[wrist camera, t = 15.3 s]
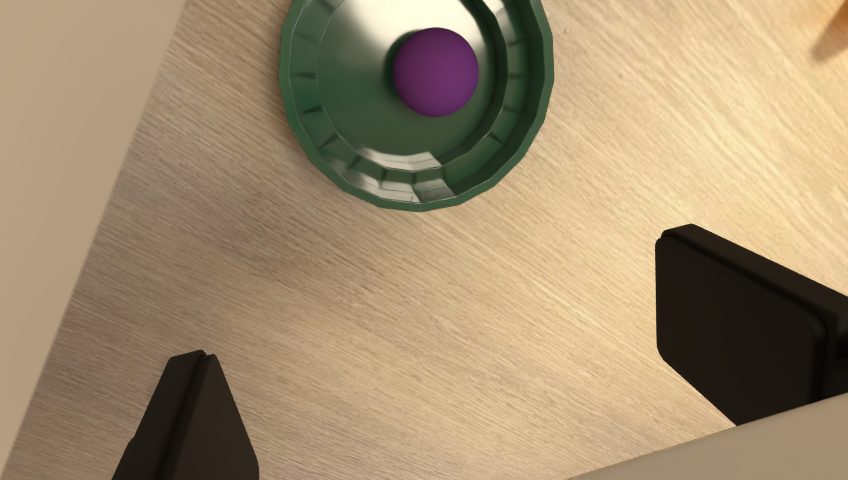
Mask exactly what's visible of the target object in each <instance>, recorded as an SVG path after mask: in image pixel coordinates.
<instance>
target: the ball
mask: <svg viewBox="0 0 848 480" xmlns="http://www.w3.org/2000/svg"><path fill="white" fill-rule="evenodd" d="M478 76H479V68H478V61H477V58H476V55H475V53H474V50H473V49H472V47H471V46H470V44H469V43H468V42H467V41H466V40H465V39H464V38H463V37H462V36H461V35H459V34H458V33H456V32H454V31H452V30H449V29H446V28H440V27H431V28H426V29H423V30H420V31H418V32H416V33H414V34H413V35H411V36H410V37H409V38H408V39H407V40H406V41H405V42H404V43H403V44H402V46H401V47H400V49H399V50H398V52H397V54H396V57H395V61H394V66H393V80H394V84H395V88H396V90H397V93H398V95H399V97H400V98H401V99H402V101H403V102H404V103H405V104H406V105H407V106H408V107H409V108H410V109H412V110H413V111H415V112H416V113H419V114H421V115H424V116H428V117H443V116H447V115H450V114H452V113H454V112H456V111H458V110H459V109H461V108H462V107H463V106H464V105H465V104H466V103H467V102H468V101H469V100H470V98H471V97H472V95H473V93H474V91H475V89H476V86H477V82H478Z"/></svg>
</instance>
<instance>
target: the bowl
mask: <svg viewBox="0 0 848 480" xmlns="http://www.w3.org/2000/svg"><path fill="white" fill-rule="evenodd" d="M431 27H440V28H446V29H449V30H452V31H454V32H456V33H458V34H459V35H461V36H462V37H463V38H464V39H465V40H466V41H467V42H468V43H469V44H470V46H471V47H472V49H473V50H474V53H475V55H476V58H477V61H478V68H479V76H478V82H477V86H476V89H475V91H474V93H473V95H472V97H471V98H470V100H469V101H468V102H467V103H466V104H465V105H464V106H463V107H462V108H461V109H459V110H458V111H456V112H454V113H452V114H450V115H447V116H443V117H428V116H424V115H421V114H419V113H416V112H415V111H413V110H412V109H410V108H409V107H408V106H407V105H406V104H405V103H404V102H403V101H402V99H401V98H400V97H399V95H398V93H397V90H396V88H395V84H394V80H393V66H394V61H395V57H396V54H397V52H398V50H399V49H400V47H401V46H402V44H403V43H404V42H405V41H406V40H407V39H408V38H409V37H410V36H411V35H413V34H414V33H416V32H418V31H420V30H423V29H426V28H431ZM278 82H279V86H280V91H281V95H282V99H283V104H284V108H285V112H286V117H287V121H288V124H289V126H290V128H291V129H292V131H293V133H294V134H295V136H296V138H297V139H298V141H299V143H300V145H301V146H302V148H303V150H304V151H305V153H306V155H307V156H308V158H309V160H310V161H311V162H312V164H314V165H315V166H316V167H317V168H318V169H319V170H320V171H321V172H322V173H324V174H325V175H326V176H327V177H328V178H329V179H330V180H331V181H332V182H334V183H335V184H336V185H337V186H338V187H339V188H340V189H341V190H343V191H344V192H346V193H349V194H351V195H353V196H355V197H357V198H360V199H362V200H364V201H366V202H369V203H371V204H373V205H375V206H377V207H381V208H386V209H395V210H404V211H412V212H425V211H430V210H436V209H441V208H446V207H451V206H457V205H460V204H462V203H464V202H466V201H468V200H470V199H472V198H473V197H475V196H477V195H479V194H481V193H483V192H485V191H487V190H489V189H491V188H492V187H494V186H495V185H496V184H497V183H498V182H499V181H500V180H501V179H502V178H504V177H505V176H506V175H507V174H508V173H509V172H510V171H511V170H512V169H513V168H514V167H515V166H516V165H517V164H518V163H519V162H520V161H521V160H522V159H523V158H524V156H525V155H526V153H527V151H528V149H529V147H530V146H531V144H532V142H533V140H534V139H535V137H536V135H537V133H538V132H539V130H540V128H541V126H542V125H543V123H544V120H545V116H546V112H547V108H548V104H549V100H550V96H551V91H552V87H553V83H554V59H553V36H552V32H551V29H550V26H549V23H548V20H547V18H546V15H545V12H544V9H543V6H542V3H541V0H293V2H292V5H291V7H290V9H289V12H288V14H287V16H286V19H285V21H284V23H283V26H282V30H281V39H280V52H279V64H278Z"/></svg>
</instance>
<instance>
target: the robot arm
mask: <svg viewBox="0 0 848 480" xmlns="http://www.w3.org/2000/svg"><path fill="white" fill-rule="evenodd" d="M655 271H656V335H657V348H658V351H659V354H660V356H661V357H662V359H663V360H664V361H665V362H666V363H667V364H668V365H669V366H671V367H672V368H673V369H674V370H675V371H676V372H677V373H678V374H679V375H681V376H682V377H683V378H684V379H685V380H686V381H687V382H688V383H689V384H691V385H692V386H693V387H694V388H695V389H696V390H697V391H698V392H699V393H701V394H702V395H703V396H704V397H705V398H706V399H707V400H708V401H709V402H711V403H712V404H713V405H714V406H715V407H716V408H717V409H718V410H720V411H721V412H722V413H723V414H724V415H725V416H726V417H727V418H728V419H730V420H731V421H732V422H733V423H734V424H735V425H736V427H733V428H729V429H726V430H723V431H720V432H716V433H713V434H710V435H707V436H704V437H700V438H697V439H694V440H691V441H687V442H684V443H681V444H678V445H675V446H671V447H668V448H665V449H662V450H659V451H655V452H652V453H649V454H646V455H642V456H639V457H636V458H633V459H630V460H626V461H623V462H620V463H617V464H613V465H610V466H607V467H604V468H601V469H597V470H594V471H591V472H588V473H584V474H581V475H578V476H575V477H572V478H568V479H565V480H848V297H847V296H845V295H843V294H841V293H839V292H837V291H835V290H833V289H830V288H828V287H826V286H824V285H822V284H820V283H818V282H816V281H814V280H811V279H809V278H807V277H805V276H803V275H801V274H799V273H797V272H794V271H792V270H790V269H788V268H786V267H784V266H782V265H780V264H778V263H775V262H773V261H771V260H769V259H767V258H765V257H763V256H761V255H758V254H756V253H754V252H752V251H750V250H748V249H746V248H744V247H741V246H739V245H737V244H735V243H733V242H731V241H729V240H727V239H725V238H722V237H720V236H718V235H716V234H714V233H712V232H710V231H708V230H705V229H703V228H701V227H699V226H697V225H695V224H687V225H683V226H679V227H675V228H672V229H668V230H665V231H664V232H663V233H662V235H661V238H659V239H658V240H657V241H656V244H655ZM112 480H259V466H258V461H257V458H256V455H255V453H254V450H253V447H252V445H251V442H250V440H249V437H248V435H247V432H246V430H245V427H244V424H243V422H242V419H241V417H240V414H239V412H238V409H237V406H236V404H235V401H234V399H233V396H232V394H231V391H230V389H229V386H228V383H227V381H226V378H225V376H224V373H223V371H222V368H221V366H220V363H219V361H218V358H217V357H216V355H214V354H211V355H206V353H205V352H204V351H203V350H197V351H193V352H189V353H185V354H182V355H178V356H174V357H171V358H170V359H169V360H168V363H167V365H166V367H165V369H164V371H163V374H162V376H161V378H160V380H159V383H158V385H157V387H156V389H155V391H154V394H153V396H152V398H151V400H150V403H149V405H148V407H147V409H146V411H145V414H144V416H143V418H142V420H141V423H140V425H139V427H138V429H137V431H136V434H135V436H134V438H132V439H131V440H130V442H129V443H128V445H127V447H126V449H125V451H124V454H123V456H122V458H121V460H120V462H119V464H118V467H117V469H116V471H115V473H114V475H113V478H112Z"/></svg>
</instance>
